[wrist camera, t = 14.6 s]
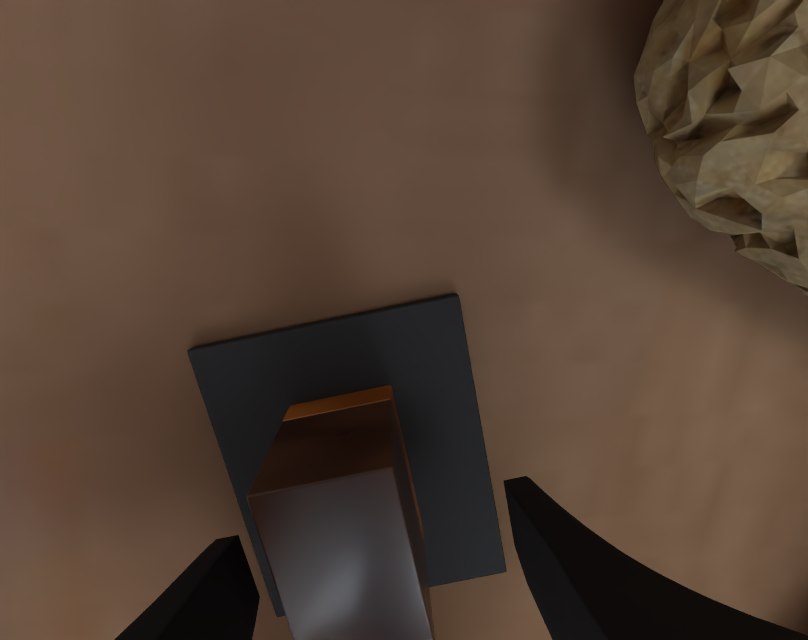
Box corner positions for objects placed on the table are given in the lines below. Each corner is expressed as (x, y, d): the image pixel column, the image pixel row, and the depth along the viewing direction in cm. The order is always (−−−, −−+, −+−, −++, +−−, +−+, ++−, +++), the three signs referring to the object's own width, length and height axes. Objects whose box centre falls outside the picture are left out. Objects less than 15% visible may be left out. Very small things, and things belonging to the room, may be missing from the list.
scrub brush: (328, 539, 17) (305, 676, 12) (289, 404, 15) (244, 496, 10) (421, 520, 17) (436, 650, 12) (390, 383, 15) (393, 466, 10)
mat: (278, 608, 18) (276, 618, 17) (191, 347, 15) (186, 350, 15) (504, 564, 18) (506, 572, 17) (457, 293, 15) (458, 295, 15)
